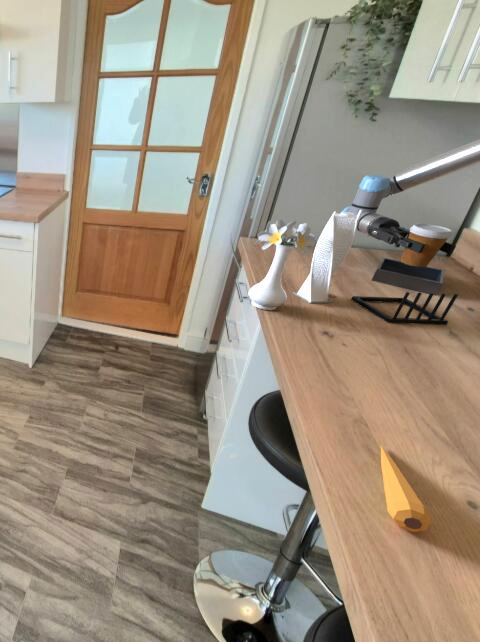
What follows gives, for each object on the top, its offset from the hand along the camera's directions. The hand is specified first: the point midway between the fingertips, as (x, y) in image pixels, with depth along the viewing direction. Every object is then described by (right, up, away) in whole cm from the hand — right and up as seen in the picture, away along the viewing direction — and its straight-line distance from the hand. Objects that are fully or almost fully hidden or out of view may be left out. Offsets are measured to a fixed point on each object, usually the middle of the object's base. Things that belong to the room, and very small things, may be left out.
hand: (437, 249), depth 131 cm
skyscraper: (-40, -15, -2) cm, 43 cm away
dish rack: (-22, -19, -9) cm, 30 cm away
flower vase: (-58, -17, -6) cm, 60 cm away
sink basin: (0, -9, +10) cm, 14 cm away
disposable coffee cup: (0, -4, +7) cm, 8 cm away
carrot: (-75, -46, -62) cm, 108 cm away
